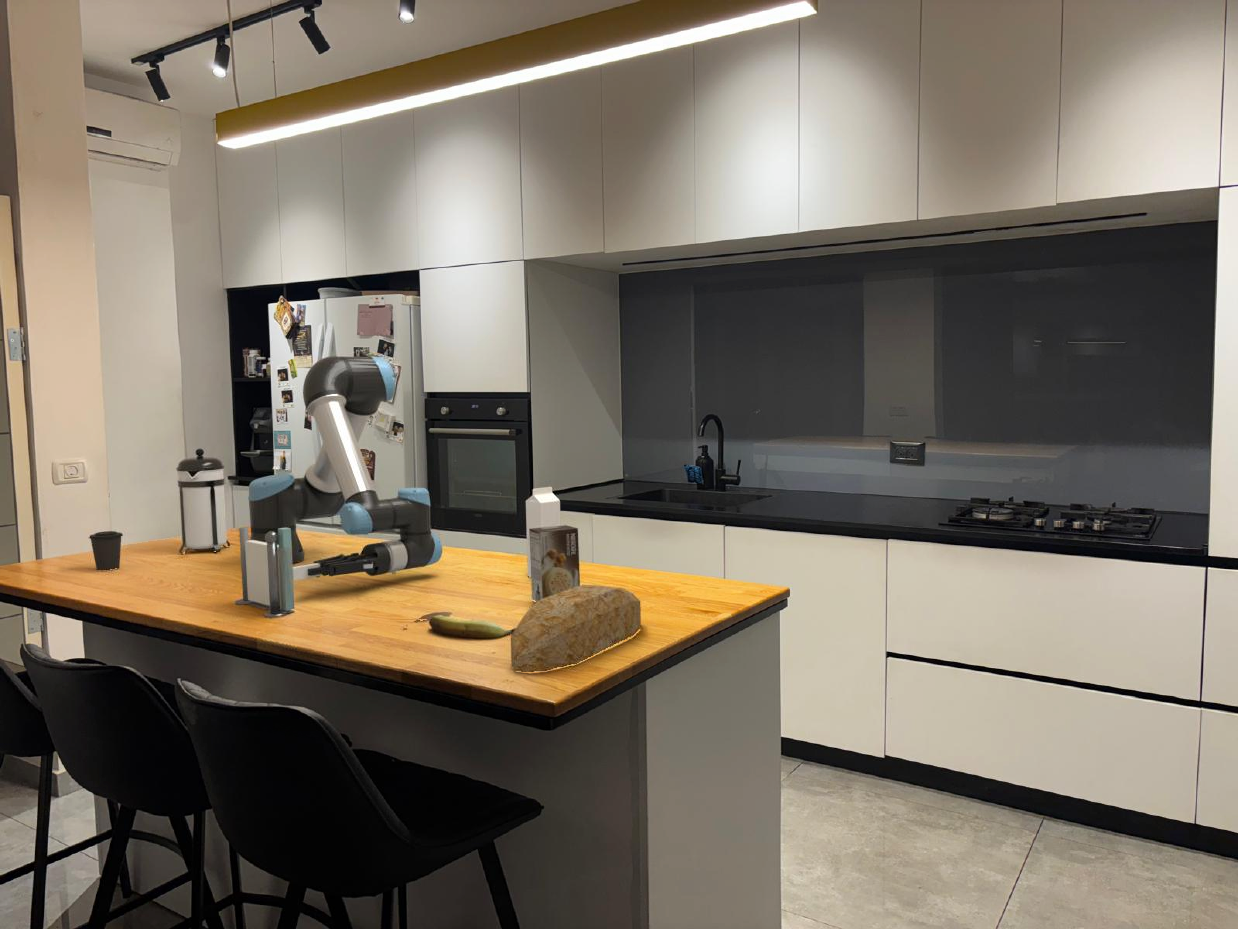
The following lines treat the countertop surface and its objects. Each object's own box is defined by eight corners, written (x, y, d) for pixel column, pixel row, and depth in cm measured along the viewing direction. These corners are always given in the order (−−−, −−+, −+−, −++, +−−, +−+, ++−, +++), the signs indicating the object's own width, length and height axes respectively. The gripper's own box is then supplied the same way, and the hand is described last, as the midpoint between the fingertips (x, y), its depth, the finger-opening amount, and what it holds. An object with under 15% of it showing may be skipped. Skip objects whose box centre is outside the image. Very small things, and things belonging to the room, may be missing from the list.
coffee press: (245, 549, 279) (239, 447, 276) (189, 557, 267) (183, 451, 265) (219, 543, 291) (214, 445, 288) (165, 550, 279) (159, 449, 277)
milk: (561, 577, 232) (560, 487, 230) (542, 581, 227) (540, 489, 225) (546, 573, 236) (544, 485, 234) (526, 577, 232) (525, 487, 230)
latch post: (260, 615, 197) (255, 531, 196) (279, 611, 201) (275, 529, 199) (271, 618, 194) (267, 533, 193) (290, 614, 198) (286, 531, 196)
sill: (231, 602, 209) (230, 601, 209) (252, 598, 213) (252, 597, 213) (278, 615, 197) (278, 613, 197) (300, 611, 201) (300, 609, 201)
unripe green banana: (348, 645, 176) (347, 625, 175) (436, 612, 200) (435, 594, 200) (510, 667, 161) (509, 645, 160) (583, 628, 185) (583, 608, 185)
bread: (550, 679, 152) (548, 618, 151) (496, 670, 158) (494, 611, 157) (657, 628, 183) (656, 577, 182) (609, 621, 189) (608, 572, 188)
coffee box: (569, 595, 211) (567, 524, 209) (581, 601, 205) (579, 528, 204) (530, 600, 207) (528, 527, 205) (542, 606, 201) (540, 531, 200)
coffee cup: (114, 572, 248) (112, 534, 247) (84, 572, 248) (81, 534, 247) (131, 566, 256) (129, 529, 255) (101, 566, 256) (99, 529, 255)
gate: (241, 599, 210) (237, 521, 208) (249, 598, 211) (245, 520, 209) (286, 612, 197) (282, 529, 196) (294, 610, 199) (290, 528, 197)
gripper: (400, 576, 221) (308, 595, 203) (367, 570, 229) (277, 587, 211) (399, 545, 220) (307, 560, 202) (366, 539, 229) (275, 554, 211)
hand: (292, 574), depth 207 cm, fingers closed
